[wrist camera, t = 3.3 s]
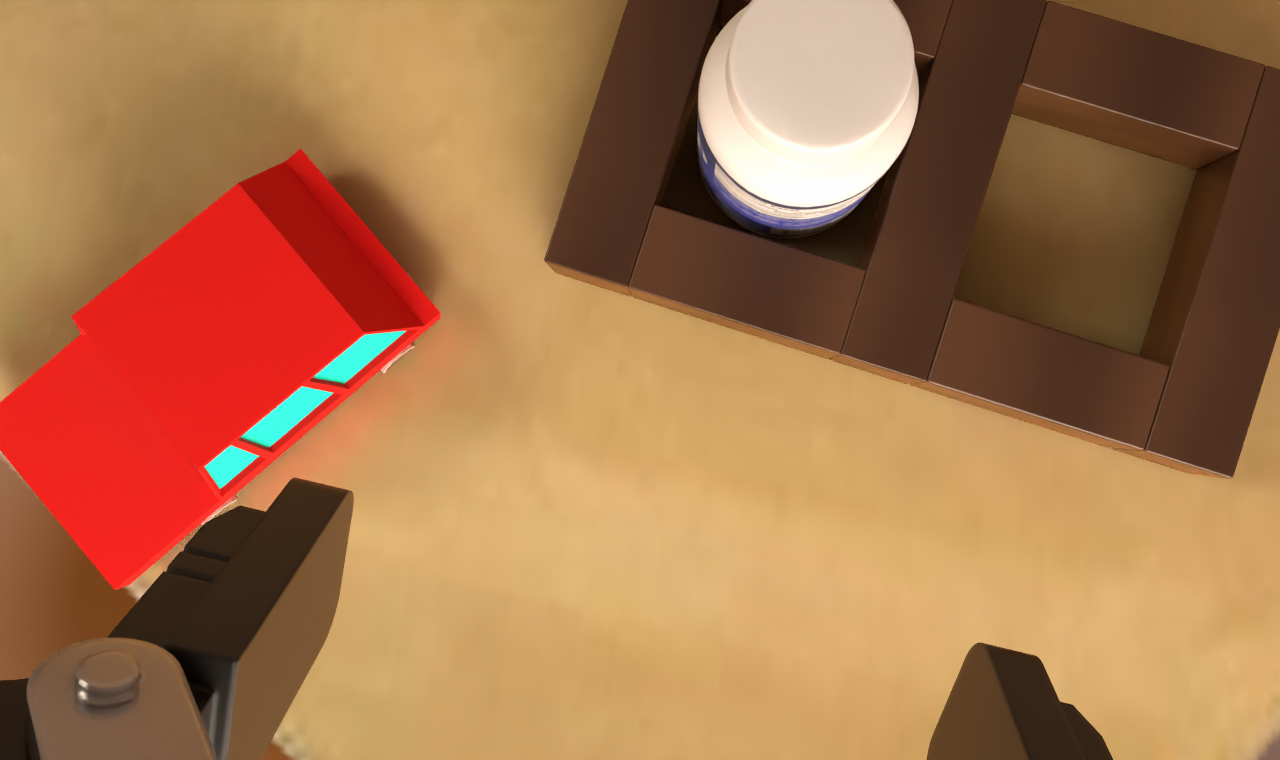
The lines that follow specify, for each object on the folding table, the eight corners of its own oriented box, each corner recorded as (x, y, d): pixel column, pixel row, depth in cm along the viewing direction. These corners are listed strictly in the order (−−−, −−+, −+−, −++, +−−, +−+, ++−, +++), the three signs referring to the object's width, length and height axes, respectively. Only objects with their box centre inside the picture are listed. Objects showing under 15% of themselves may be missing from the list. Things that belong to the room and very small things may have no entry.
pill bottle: (735, 36, 33) (754, -102, 24) (903, 100, 32) (985, -16, 24) (668, 204, 33) (662, 127, 24) (836, 269, 32) (893, 216, 24)
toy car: (8, 415, 33) (-85, 416, 29) (311, 152, 33) (259, 116, 29) (145, 582, 33) (71, 607, 29) (452, 318, 33) (419, 305, 29)
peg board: (554, 272, 33) (543, 261, 30) (666, -76, 33) (664, -115, 30) (1190, 474, 32) (1233, 479, 29) (1303, 115, 32) (1355, 90, 30)
